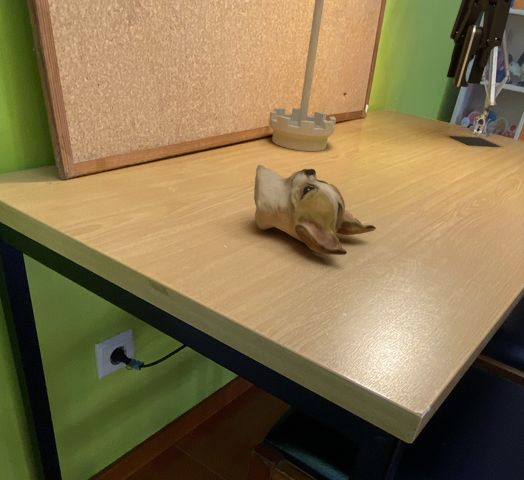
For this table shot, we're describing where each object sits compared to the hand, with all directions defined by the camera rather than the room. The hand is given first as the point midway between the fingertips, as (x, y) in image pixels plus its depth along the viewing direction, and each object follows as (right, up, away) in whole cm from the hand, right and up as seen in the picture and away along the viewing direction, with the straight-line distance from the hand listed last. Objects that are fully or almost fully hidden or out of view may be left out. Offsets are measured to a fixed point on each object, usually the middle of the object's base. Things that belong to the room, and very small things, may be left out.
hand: (462, 80), depth 112 cm
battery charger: (0, -1, +1) cm, 1 cm away
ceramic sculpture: (-40, -46, -50) cm, 78 cm away
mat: (+7, -9, +11) cm, 16 cm away
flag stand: (-37, -18, -10) cm, 42 cm away
